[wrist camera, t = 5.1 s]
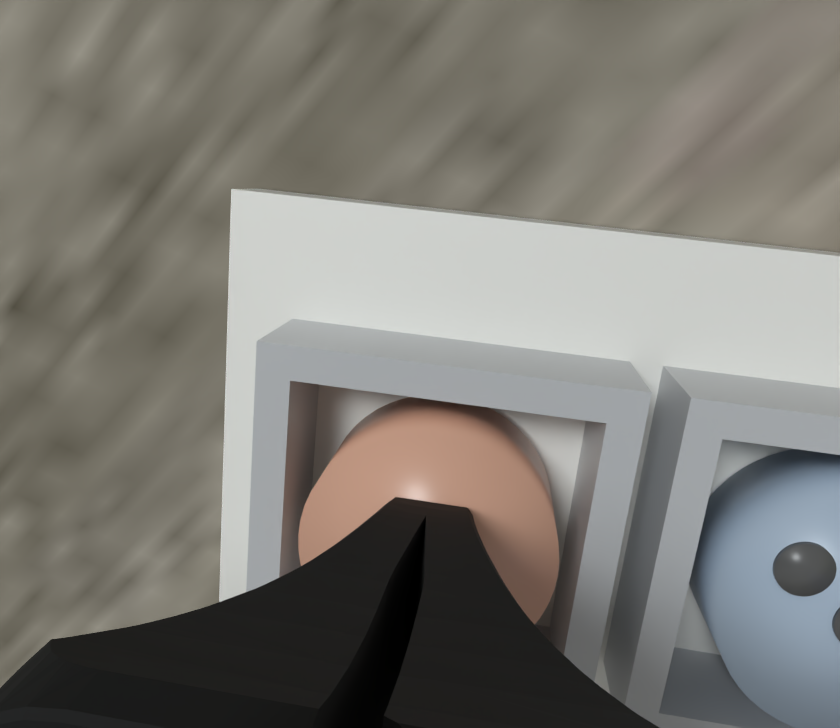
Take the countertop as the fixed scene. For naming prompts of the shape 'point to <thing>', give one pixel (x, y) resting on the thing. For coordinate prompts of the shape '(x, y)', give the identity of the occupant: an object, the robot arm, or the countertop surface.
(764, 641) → the slate three pip button
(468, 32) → the countertop surface
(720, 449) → the button panel
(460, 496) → the terracotta one pip button
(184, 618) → the robot arm
